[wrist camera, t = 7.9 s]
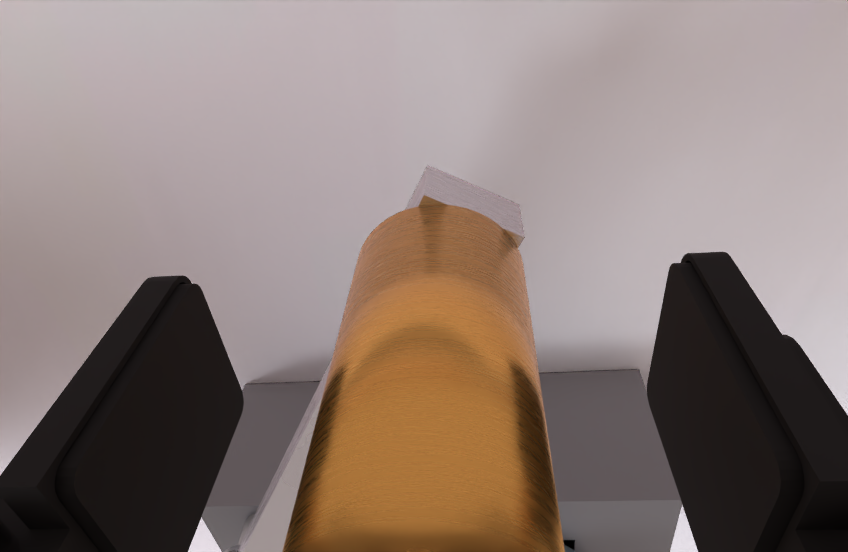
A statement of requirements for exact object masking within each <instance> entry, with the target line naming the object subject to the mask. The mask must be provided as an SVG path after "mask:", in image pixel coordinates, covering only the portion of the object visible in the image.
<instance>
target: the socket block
mask: <svg viewBox="0 0 848 552" xmlns="http://www.w3.org/2000/svg"><path fill="white" fill-rule="evenodd" d="M539 377H540V384H541V391H542V397H543V404H544V411H545V418H546V425H547V432H548V439H549V446H550V452H551V459H552V466H553V473H554V480H555V487H556V494H557V501H558V507H559V514H560V521H561V528H562V535H563V542H564V544H565V545H566V546H568V547H570V548H571V549H573V550H574V551H575V552H670V548H671V545H672V541H673V537H674V533H675V529H676V525H677V522H678V518H679V514H680V510H681V506H682V501H681V498H680V496H679V493H678V490H677V487H676V484H675V481H674V478H673V475H672V472H671V469H670V466H669V463H668V460H667V457H666V454H665V451H664V448H663V445H662V442H661V439H660V436H659V433H658V430H657V427H656V424H655V421H654V418H653V415H652V412H651V409H650V406H649V402H648V396H647V392H646V389H645V386H644V383H643V380H642V377H641V374H640V371H639V370H615V371H588V372H561V373H539ZM319 384H320V382H294V383H268V384H245V387H244V389H243V392H242V393H243V398H244V406H243V411H242V415H241V417H240V420H239V422H238V425H237V427H236V430H235V433H234V435H233V438H232V440H231V443H230V445H229V448H228V450H227V453H226V455H225V458H224V461H223V463H222V466H221V468H220V471H219V473H218V476H217V478H216V481H215V483H214V486H213V489H212V491H211V494H210V496H209V499H208V501H207V504H206V506H205V509H204V511H203V514H202V519H203V520H204V522H205V524H206V525H207V527H208V529H209V530H210V532H211V534H212V536H213V537H214V539H215V541H216V542H217V544H218V546H219V547H220V549H221V551H222V552H225V551H226V550H227V549H228V548H230V547H232V546H235V545H239V544H241V542H242V540H243V538H244V536H245V534H246V532H247V530H248V528H249V526H250V523H251V521H252V519H253V517H254V515H255V513H256V511H257V509H258V507H259V505H260V503H261V501H262V499H263V497H264V495H265V493H266V491H267V489H268V487H269V485H270V483H271V481H272V479H273V477H274V475H275V473H276V471H277V469H278V467H279V465H280V463H281V461H282V459H283V457H284V455H285V453H286V450H287V448H288V446H289V444H290V442H291V440H292V438H293V436H294V434H295V432H296V430H297V428H298V426H299V424H300V422H301V420H302V418H303V416H304V414H305V412H306V410H307V408H308V406H309V404H310V402H311V400H312V398H313V396H314V394H315V392H316V390H317V388H318V386H319Z"/></svg>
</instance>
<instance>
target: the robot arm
mask: <svg viewBox="0 0 848 552" xmlns="http://www.w3.org/2000/svg"><path fill="white" fill-rule="evenodd" d="M647 396H648V402H649V406H650V409H651V412H652V415H653V418H654V421H655V424H656V427H657V430H658V433H659V436H660V439H661V442H662V445H663V448H664V451H665V454H666V457H667V460H668V463H669V466H670V469H671V472H672V475H673V478H674V481H675V484H676V487H677V490H678V493H679V496H680V498H681V501H682V504H683V507H684V510H685V513H686V516H687V519H688V522H689V525H690V528H691V531H692V534H693V537H694V540H695V543H696V546H697V549H698V552H848V415H847V414H846V412H845V411H844V410H843V408H842V407H841V405H840V404H839V402H838V401H837V399H836V398H835V396H834V395H833V393H832V392H831V390H830V389H829V388H828V386H827V385H826V383H825V382H824V380H823V379H822V377H821V376H820V374H819V373H818V371H817V370H816V368H815V367H814V366H813V364H812V363H811V361H810V360H809V358H808V357H807V355H806V354H805V352H804V351H803V349H802V348H801V346H800V345H799V344H798V343H797V342H796V341H795V340H794V339H793V338H792V337H790V336H788V335H782V334H781V332H780V331H779V329H778V328H777V326H776V325H775V323H774V322H773V320H772V319H771V317H770V316H769V314H768V313H767V311H766V310H765V308H764V307H763V305H762V304H761V302H760V301H759V299H758V298H757V296H756V295H755V293H754V291H753V290H752V288H751V287H750V285H749V284H748V282H747V281H746V279H745V278H744V276H743V275H742V273H741V272H740V270H739V269H738V267H737V266H736V264H735V263H734V261H733V260H732V258H731V257H730V256H729V255H728V253H725V252H710V253H687V254H686V255H684V257H683V258H682V261H681V263H673V264H672V265H671V266H670V269H669V272H668V278H667V283H666V288H665V293H664V299H663V304H662V309H661V314H660V320H659V325H658V330H657V335H656V340H655V346H654V351H653V356H652V361H651V367H650V372H649V377H648V383H647ZM243 406H244V398H243V393H242V390H241V387H240V385H239V382H238V380H237V377H236V375H235V372H234V370H233V367H232V365H231V362H230V360H229V357H228V355H227V352H226V350H225V347H224V345H223V342H222V340H221V337H220V335H219V332H218V330H217V327H216V324H215V322H214V319H213V317H212V314H211V312H210V309H209V307H208V304H207V302H206V299H205V297H204V294H203V292H202V290H201V288H200V286H198V285H197V284H192V283H191V281H190V280H189V279H188V278H187V277H185V276H163V277H151V278H148V279H147V280H146V281H144V283H143V284H142V285H141V287H140V288H139V289H138V291H137V292H136V293H135V295H134V296H133V297H132V299H131V300H130V301H129V303H128V304H127V306H126V307H125V308H124V310H123V311H122V312H121V314H120V315H119V316H118V318H117V319H116V320H115V322H114V323H113V324H112V326H111V327H110V328H109V330H108V331H107V332H106V334H105V335H104V337H103V338H102V339H101V341H100V342H99V343H98V345H97V346H96V347H95V349H94V350H93V351H92V353H91V354H90V355H89V357H88V358H87V359H86V361H85V362H84V364H83V365H82V366H81V368H80V369H79V370H78V372H77V373H76V374H75V376H74V377H73V378H72V380H71V381H70V382H69V384H68V385H67V386H66V388H65V389H64V391H63V392H62V393H61V395H60V396H59V397H58V399H57V400H56V401H55V403H54V404H53V405H52V407H51V408H50V409H49V411H48V412H47V413H46V415H45V416H44V417H43V419H42V420H41V422H40V423H39V424H38V426H37V427H36V428H35V430H34V431H33V432H32V434H31V435H30V436H29V438H28V439H27V440H26V442H25V443H24V444H23V446H22V447H21V449H20V450H19V451H18V453H17V454H16V455H15V457H14V458H13V459H12V461H11V462H10V463H9V465H8V466H7V467H6V469H5V470H4V471H3V473H2V474H1V476H0V552H188V550H189V547H190V544H191V542H192V539H193V537H194V534H195V532H196V529H197V527H198V524H199V522H200V519H201V517H202V514H203V511H204V509H205V506H206V504H207V501H208V499H209V496H210V494H211V491H212V489H213V486H214V483H215V481H216V478H217V476H218V473H219V471H220V468H221V466H222V463H223V461H224V458H225V455H226V453H227V450H228V448H229V445H230V443H231V440H232V438H233V435H234V433H235V430H236V427H237V425H238V422H239V420H240V417H241V415H242V411H243Z"/></svg>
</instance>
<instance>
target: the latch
mask: <svg viewBox="0 0 848 552" xmlns="http://www.w3.org/2000/svg"><path fill="white" fill-rule="evenodd" d="M524 238H525V237H524V230H523V224H522V218H521V212H520V205H518V204H516V203H514V202H511V201H509V200H507V199H504V198H502V197H500V196H498V195H495V194H493V193H491V192H488V191H486V190H484V189H481V188H479V187H477V186H475V185H472V184H470V183H468V182H465V181H463V180H461V179H458V178H456V177H454V176H452V175H449V174H447V173H445V172H442V171H440V170H438V169H435V168H433V167H431V166H429V165H427V167H426V169H425V171H424V173H423V175H422V177H421V179H420V181H419V183H418V185H417V187H416V189H415V191H414V193H413V195H412V197H411V199H410V201H409V203H408V205H407V207H406V209H405V210H404V211H402V212H399V213H397V214H395V215H393V216H391V217H389V218H388V219H386V220H385V221H384V222H382V223H381V224H379V225H378V226H377V227H376V228H375V229H374V230H373V231H372V232H371V234H370V235H369V236H368V238H367V239H366V241H365V242H364V244H363V246H362V248H361V251H360V254H359V257H358V260H357V264H356V268H355V272H354V276H353V280H352V284H351V288H350V291H349V295H348V299H347V303H346V307H345V311H344V315H343V319H342V322H341V326H340V330H339V334H338V338H337V342H336V346H335V350H334V353H333V357H332V359H331V361H330V363H329V365H328V367H327V369H326V371H325V373H324V375H323V378H322V380H321V382H320V384H319V386H318V388H317V390H316V392H315V394H314V396H313V398H312V400H311V402H310V404H309V406H308V408H307V410H306V412H305V414H304V416H303V418H302V420H301V422H300V424H299V426H298V428H297V430H296V432H295V434H294V436H293V438H292V440H291V442H290V444H289V446H288V448H287V450H286V453H285V455H284V457H283V459H282V461H281V463H280V465H279V467H278V469H277V471H276V473H275V475H274V477H273V479H272V481H271V483H270V485H269V487H268V489H267V491H266V493H265V495H264V497H263V499H262V501H261V503H260V505H259V507H258V509H257V511H256V513H255V515H254V517H253V519H252V521H251V523H250V526H249V528H248V530H247V532H246V534H245V536H244V538H243V540H242V542H241V544H239V545H235V546H232V547H230V548H228V549H227V550H226V551H225V552H565V549H564V542H563V535H562V528H561V521H560V514H559V507H558V501H557V494H556V487H555V480H554V473H553V466H552V459H551V452H550V446H549V439H548V432H547V425H546V418H545V411H544V404H543V397H542V391H541V384H540V377H539V370H538V363H537V356H536V349H535V343H534V336H533V329H532V322H531V315H530V308H529V301H528V294H527V288H526V281H525V274H524V267H523V262H522V258H521V255H520V252H519V250H518V247H519V245H520V244H521V242H522V241H523V239H524Z"/></svg>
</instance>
